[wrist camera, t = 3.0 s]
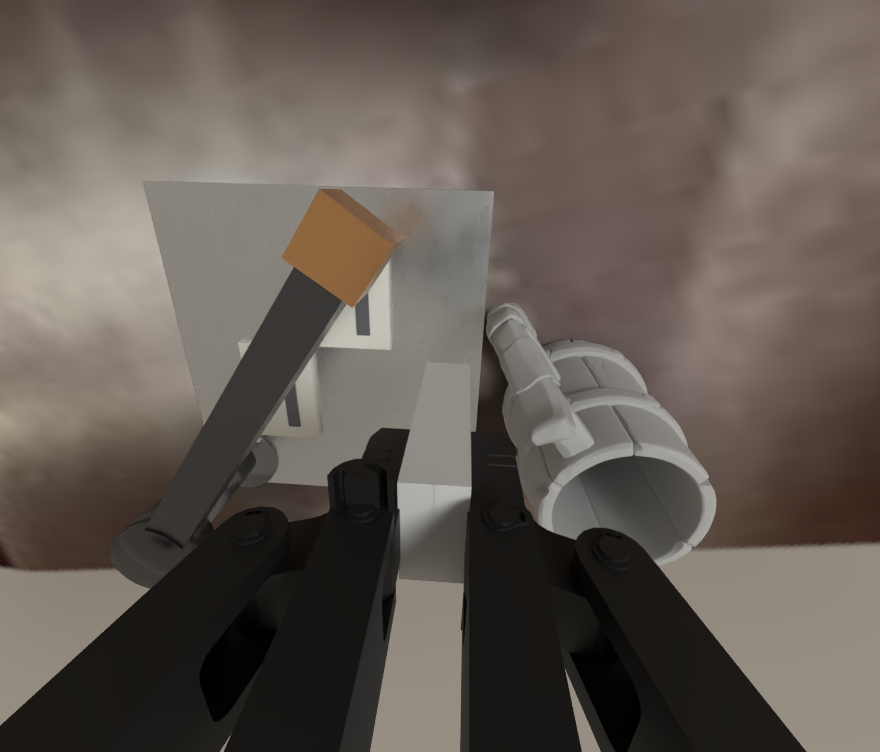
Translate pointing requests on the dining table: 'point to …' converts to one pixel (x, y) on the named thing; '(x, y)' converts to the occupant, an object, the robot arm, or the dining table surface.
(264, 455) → the grey metal knob
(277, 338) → the grey lever orange grip
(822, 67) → the dining table surface
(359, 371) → the plate
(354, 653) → the robot arm
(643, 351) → the dining table surface
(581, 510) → the mug
